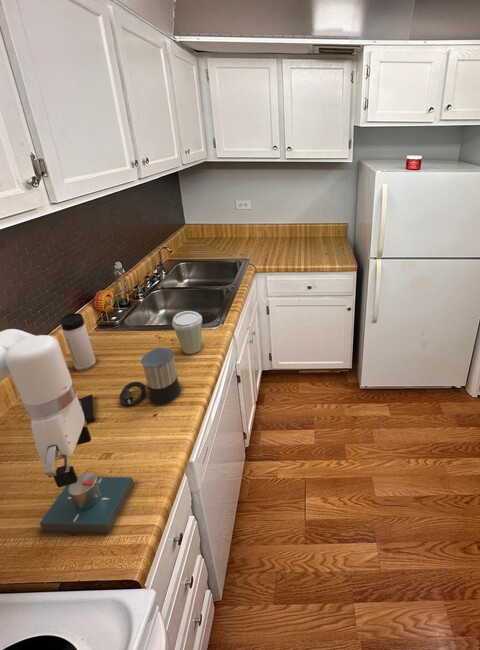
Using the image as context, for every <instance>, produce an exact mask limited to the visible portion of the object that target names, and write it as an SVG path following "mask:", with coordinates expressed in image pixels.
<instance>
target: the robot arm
mask: <svg viewBox="0 0 480 650" xmlns="http://www.w3.org/2000/svg"><path fill="white" fill-rule="evenodd" d="M9 376H10V377H11V379H12V381H13V384H14V387H15V388H16V390H17V392H18V395H19V397H20V400H21V401H22V404H23V407H24V408H25V411H26V413H27V416H28V418H30V429H31V433H32V438H33V441H34V444H35V449H36V451H37V454H38V457H39V459H40V461H41V463H42V464H44V469H43V474H44V476H47V477H48V478H52V477H53V479H54V481H55V484H56V486H57V487H58V488H63V487H66V486H67V485H70V484H74V483H76V482H77V480H78V478H77V476H78V475H77V473H76V470H75V468H74V466H73V465H71V455H73V453H74V452H75V449H76V446H79V445H83V444H87V443H90V442H91V440H92V437H91V434H90V431H89V428H88V426H87V424H86V423H87V422H86V420H85V418H84V411H83V410H82V402H81V401H78V399H79V398H78V394H77V390H76V387H75V384H74V381H73V379H72V376H71V374H70V370H69V367H68V365H67V362H66V359H65V356H64V353H63V351H62V348H61V344H60V343H59V341H58V339H56V337H54V336H52V335H47V334H39V335H35V334H32V333H29V332H26V331H24V330H21V329H16V328H7V329H4V330H1V331H0V383H1V382H2V381H4V380H5V379H7V378H8V377H9ZM59 453H60V454H59ZM58 454H59V455H58ZM58 460H59V461H60V460H63V465H62V466H58V465H57V463H58V462H57V461H58Z"/></svg>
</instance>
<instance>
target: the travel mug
mask: <svg viewBox="0 0 480 650" xmlns="http://www.w3.org/2000/svg"><path fill="white" fill-rule="evenodd" d="M59 321H60V325H61V329H62V332H63V335H64V338H65V342H66V345H67V348H68V350H69V354H70V357H71V360H72V363H73V365H74V369H75V370H76V371H78V372H82V371H87V370H90V369H92V368H93V367H94V366H95V365H96V364H97V360H96V357H95V353H94V350H93V346H92V343H91V340H90V336H89V333H88V330H87V329H88V328H87V326H86V322H85V320H84V317H83V314H81V313H77V312H70V313H68V314H67V315H65V316H63V317H62V318H61V319H60V320H59Z"/></svg>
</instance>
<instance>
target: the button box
mask: <svg viewBox="0 0 480 650" xmlns="http://www.w3.org/2000/svg"><path fill="white" fill-rule="evenodd" d="M78 401H81V402H82V410H83V411H84V418H85V420H86V422H87V423H86V425H88V424H90V423H93V422H96V412H95V411H96V409H95V399H94V395H93V394H90V395H86V396H84V397H80V398H78Z"/></svg>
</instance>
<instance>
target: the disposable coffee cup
mask: <svg viewBox="0 0 480 650" xmlns="http://www.w3.org/2000/svg"><path fill="white" fill-rule="evenodd" d="M202 325H203V317H202V315H201V314H200V313H198V312H197V311H192V310H184V311H181V312H178V313H176V314H175V315H174V316H173V318H172V323H171V327H172V328H173V330H174V333H175V335H176V337H177V339H178V342H179V345H180V347H181V350H182V352H183V353H184V354H186V355H195V354H196V353H199V352H200V351H201V349H202V332H203V331H202Z"/></svg>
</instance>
